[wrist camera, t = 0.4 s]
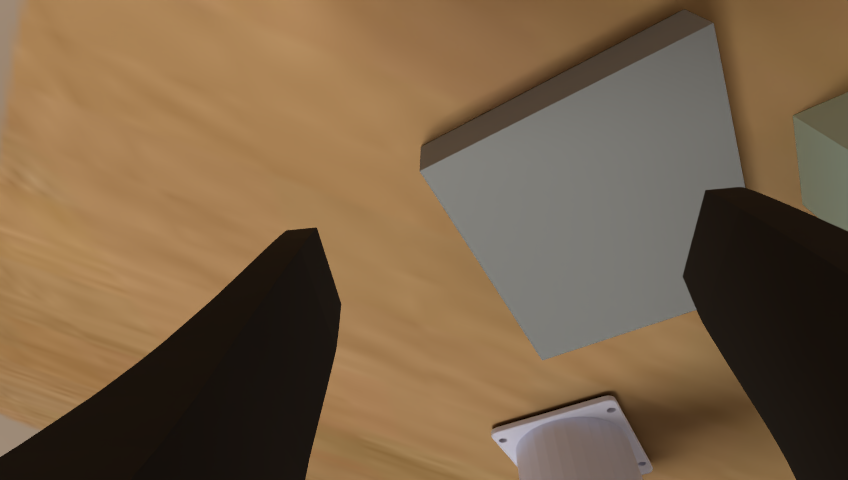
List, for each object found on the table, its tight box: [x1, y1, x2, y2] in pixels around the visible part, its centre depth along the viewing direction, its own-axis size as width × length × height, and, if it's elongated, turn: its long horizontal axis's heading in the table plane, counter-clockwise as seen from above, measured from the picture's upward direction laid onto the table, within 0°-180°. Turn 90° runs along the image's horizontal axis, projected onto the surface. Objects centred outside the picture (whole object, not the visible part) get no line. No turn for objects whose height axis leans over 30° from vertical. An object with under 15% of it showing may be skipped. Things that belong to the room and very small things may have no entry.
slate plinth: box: [420, 9, 745, 360], centre depth 19 cm, size 12×10×2 cm
